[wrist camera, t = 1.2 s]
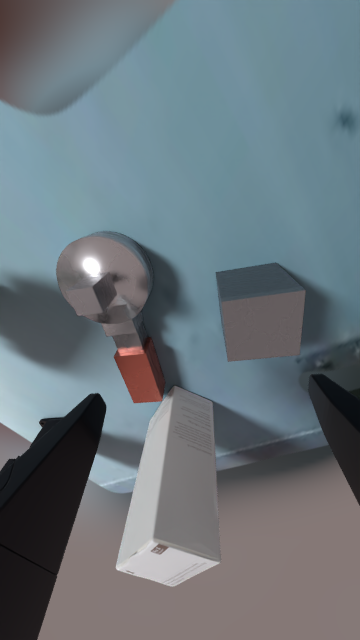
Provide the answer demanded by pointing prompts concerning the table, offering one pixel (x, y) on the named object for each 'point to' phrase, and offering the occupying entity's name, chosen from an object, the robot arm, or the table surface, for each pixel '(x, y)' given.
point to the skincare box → (174, 495)
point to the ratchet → (115, 303)
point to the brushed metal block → (260, 312)
